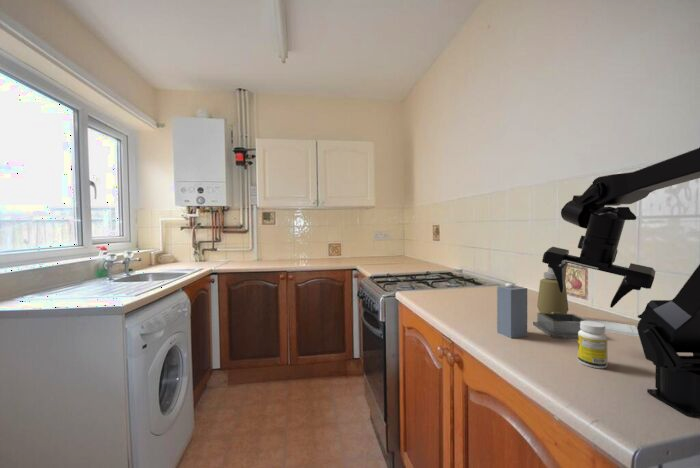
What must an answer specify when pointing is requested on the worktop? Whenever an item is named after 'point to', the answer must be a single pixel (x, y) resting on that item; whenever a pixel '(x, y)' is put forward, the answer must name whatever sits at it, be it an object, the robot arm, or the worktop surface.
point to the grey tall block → (512, 310)
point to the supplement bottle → (592, 344)
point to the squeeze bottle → (551, 295)
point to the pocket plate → (559, 324)
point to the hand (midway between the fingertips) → (585, 299)
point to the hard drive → (618, 328)
